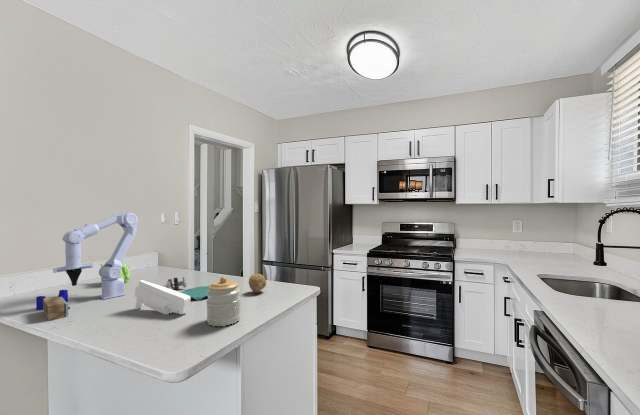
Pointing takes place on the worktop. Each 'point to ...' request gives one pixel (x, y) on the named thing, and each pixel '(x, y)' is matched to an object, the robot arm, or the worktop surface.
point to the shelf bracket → (161, 298)
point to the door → (65, 306)
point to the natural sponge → (257, 282)
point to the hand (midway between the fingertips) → (74, 285)
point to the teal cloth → (197, 292)
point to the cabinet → (53, 308)
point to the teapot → (123, 272)
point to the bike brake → (175, 283)
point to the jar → (223, 303)
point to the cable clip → (40, 298)
